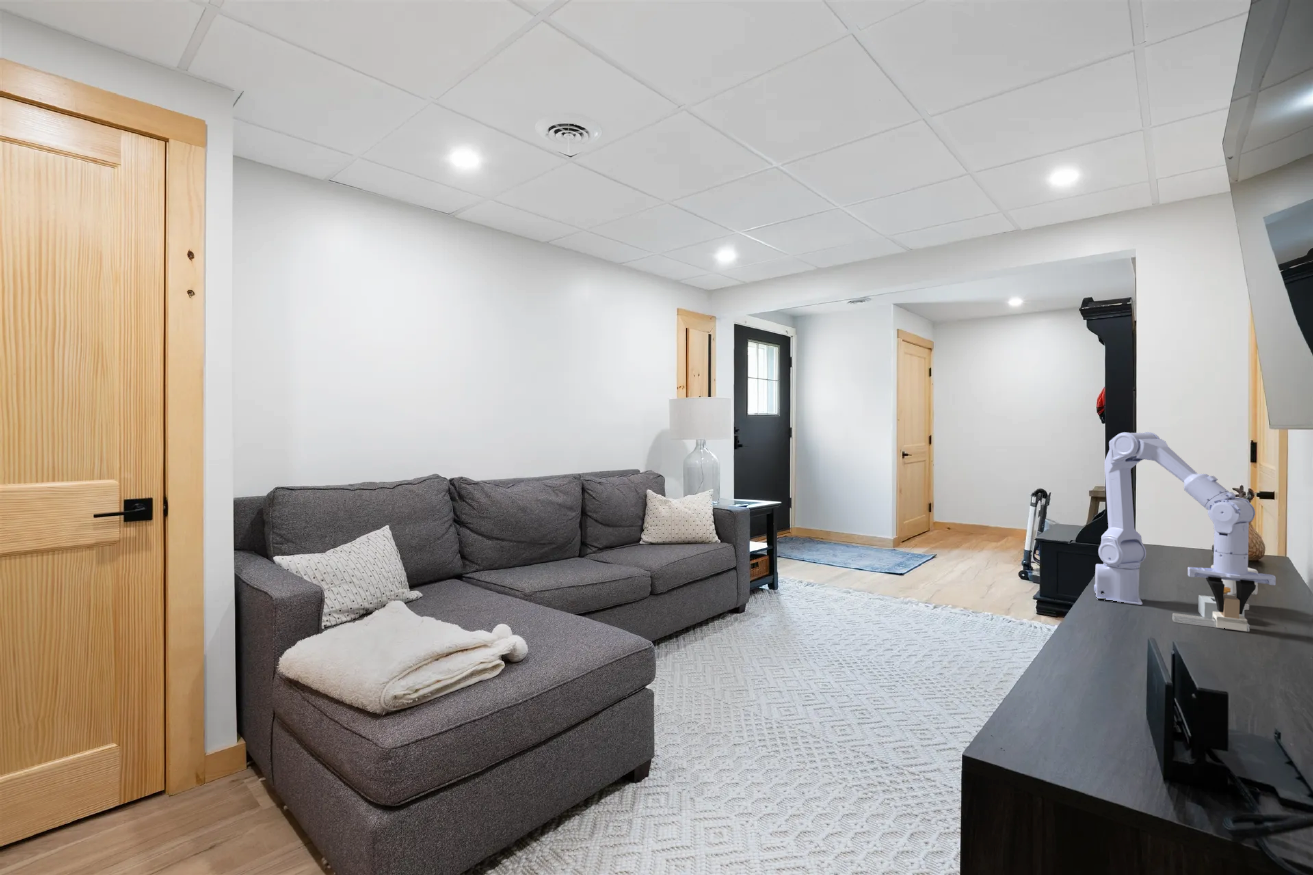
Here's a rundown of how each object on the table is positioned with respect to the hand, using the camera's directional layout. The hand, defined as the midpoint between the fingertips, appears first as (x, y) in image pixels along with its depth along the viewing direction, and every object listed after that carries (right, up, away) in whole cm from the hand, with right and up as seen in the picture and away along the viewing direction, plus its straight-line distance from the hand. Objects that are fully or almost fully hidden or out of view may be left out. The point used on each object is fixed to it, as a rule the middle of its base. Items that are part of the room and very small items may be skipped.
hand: (1229, 611), depth 141 cm
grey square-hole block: (+5, -3, +8) cm, 10 cm away
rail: (-3, -4, +2) cm, 5 cm away
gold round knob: (+5, -1, +8) cm, 9 cm away
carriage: (0, -4, 0) cm, 4 cm away
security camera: (+16, -3, +16) cm, 23 cm away
